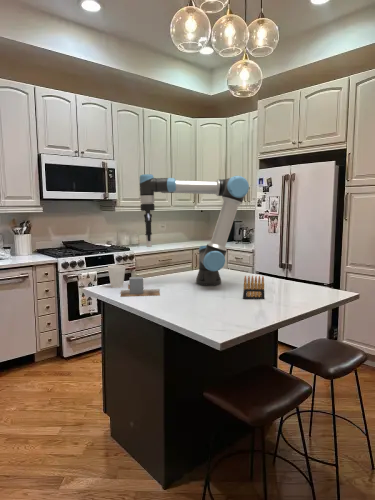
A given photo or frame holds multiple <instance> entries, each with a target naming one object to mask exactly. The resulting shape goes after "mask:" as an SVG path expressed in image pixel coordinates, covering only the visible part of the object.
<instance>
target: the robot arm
mask: <svg viewBox="0 0 375 500" xmlns="http://www.w3.org/2000/svg"><path fill="white" fill-rule="evenodd" d="M249 190H250V185H249V182H248V179H246V178H245V177H243V176H241V175H234V176H231V177H227V178H224V179H219V178H218V179H216V180H195V179H194V180H192V179H189V180H187V179H176V178H175V177H160V178H159V177H157V178H156V177H155V176H154V175H153V174H149V173H148V174H141V175H139V198H138V199H139V201H140V211H141V212H145V213H144V214H143V217H144V223H145V234H144V235H145V238H146V239H145V240H146V243H145V244H146V247H147V248H151V247H152V245H153V244H152V242H153V241H152V235H153V233H152V217H153V214H152V213H151V212H152V211H155V209H156V208H155V204H154V203H155V193H160V194H161V193H162V194H196V195H197V194H199V195H216V197H221V198H222V201H223V202H222V206H221V208H220V212H219V215H218V218H217V221H216V224H215V228H214V230H213V234H212V236H211V237H212V238H211V239H210V242H208V243H207V244H206V245H200V246H199V248H198V272H197V275H196V279H195V284H196V285H199V286H205V287H207V286H213V287H214V286H219V285H221V284H222V279H221V275H220V272H219V271H220V270H222V269H223V268H224V266H225V264H226V254H227V250H228V249H227V247H226V245H227V243H228V239H229V236H230V234H231V230H232V228H233V223H234V221H235V217H236V214H237V212H238V208H239V206H240V205H242V204H243V201H244V199H245V196H247V194H248V193H249Z"/></svg>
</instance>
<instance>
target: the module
mask: <svg viewBox="0 0 375 500" xmlns="http://www.w3.org/2000/svg"><path fill="white" fill-rule="evenodd" d="M128 281H129V284H128V286H127V287H128V288H127V290H130V294H143V290H144V277H143V276H132V277H131V276H130V277H129V280H128Z"/></svg>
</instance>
